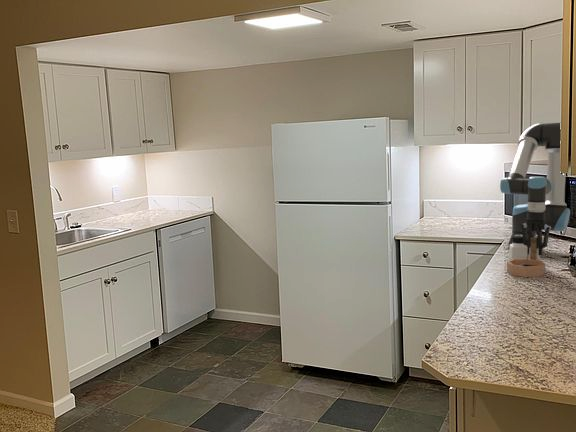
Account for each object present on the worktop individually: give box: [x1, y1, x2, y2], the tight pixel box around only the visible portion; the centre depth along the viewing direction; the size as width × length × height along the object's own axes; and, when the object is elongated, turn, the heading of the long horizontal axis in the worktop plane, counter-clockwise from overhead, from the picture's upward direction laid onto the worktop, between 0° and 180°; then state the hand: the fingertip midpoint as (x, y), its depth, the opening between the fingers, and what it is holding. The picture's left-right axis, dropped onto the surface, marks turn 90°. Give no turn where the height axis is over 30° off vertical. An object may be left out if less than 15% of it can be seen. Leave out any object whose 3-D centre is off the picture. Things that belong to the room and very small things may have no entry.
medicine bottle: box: [508, 235, 529, 261], centre depth 284 cm, size 7×7×12 cm
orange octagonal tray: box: [506, 258, 546, 278], centre depth 262 cm, size 15×15×4 cm
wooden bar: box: [530, 235, 538, 260], centre depth 270 cm, size 4×2×14 cm, turn 136°
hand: (534, 261), depth 271 cm, fingers closed on wooden bar, 2 cm apart
